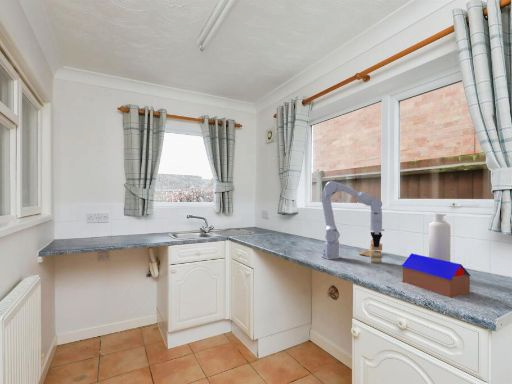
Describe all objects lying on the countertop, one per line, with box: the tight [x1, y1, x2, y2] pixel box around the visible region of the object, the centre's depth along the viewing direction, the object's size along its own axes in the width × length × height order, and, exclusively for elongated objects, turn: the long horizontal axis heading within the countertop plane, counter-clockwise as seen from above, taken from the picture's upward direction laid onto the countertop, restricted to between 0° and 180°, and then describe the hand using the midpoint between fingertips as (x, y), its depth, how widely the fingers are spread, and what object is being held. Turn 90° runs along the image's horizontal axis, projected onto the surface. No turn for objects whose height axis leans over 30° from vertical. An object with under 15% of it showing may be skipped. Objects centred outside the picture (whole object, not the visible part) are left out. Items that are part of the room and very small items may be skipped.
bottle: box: [428, 213, 451, 262], centre depth 125 cm, size 8×8×28 cm
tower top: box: [370, 250, 382, 259], centre depth 151 cm, size 5×5×3 cm
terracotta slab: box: [371, 242, 383, 252], centre depth 151 cm, size 5×5×3 cm
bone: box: [358, 238, 378, 258], centre depth 171 cm, size 10×10×15 cm
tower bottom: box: [370, 257, 382, 265], centre depth 151 cm, size 5×5×3 cm
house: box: [401, 253, 472, 299], centre depth 110 cm, size 12×20×12 cm, turn 23°
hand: (376, 246), depth 151 cm, fingers closed on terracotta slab, 5 cm apart
